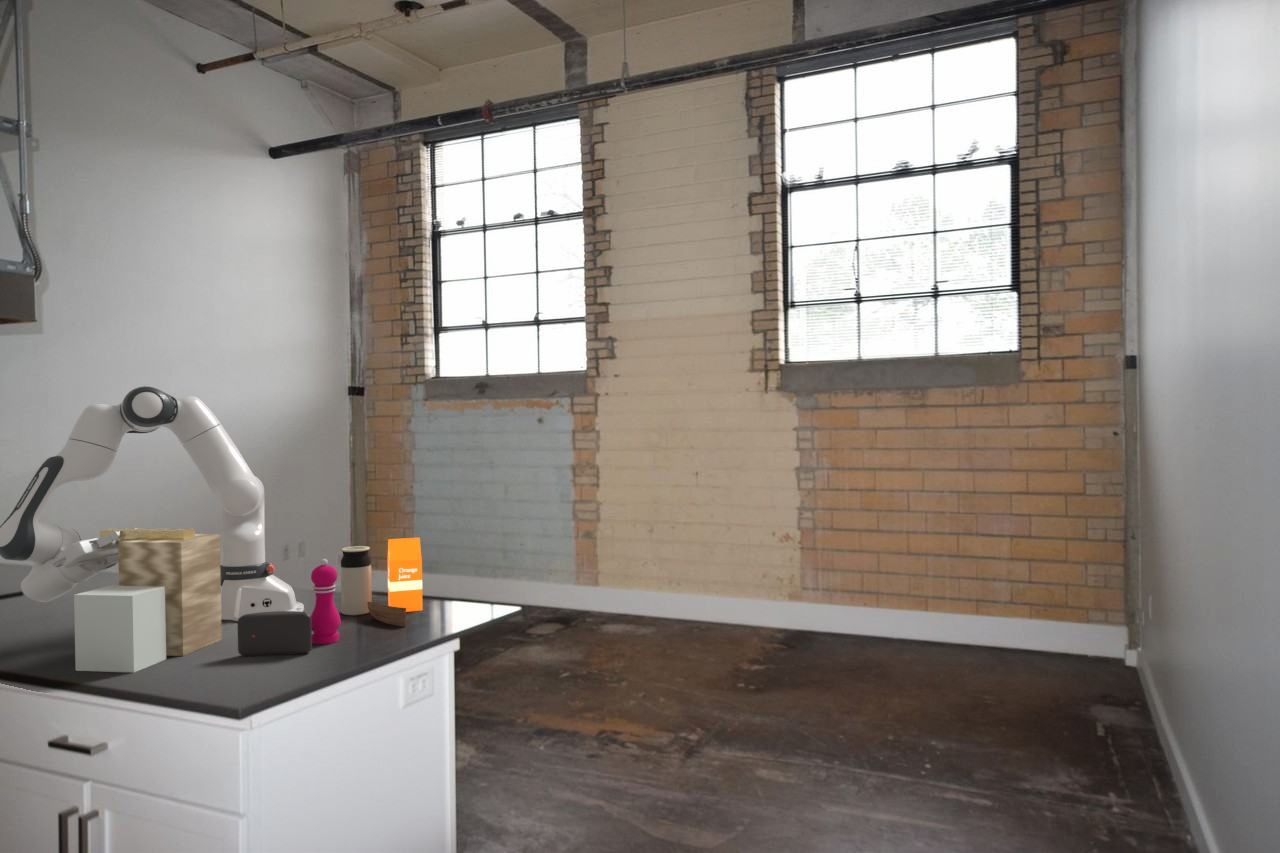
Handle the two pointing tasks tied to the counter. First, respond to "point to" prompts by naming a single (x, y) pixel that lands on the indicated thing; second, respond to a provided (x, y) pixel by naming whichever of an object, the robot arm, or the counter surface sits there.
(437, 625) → the counter surface
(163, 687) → the counter surface
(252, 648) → the red-dot charcoal block
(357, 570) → the travel mug
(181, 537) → the tan long flat block
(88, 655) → the pale grey block
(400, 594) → the orange juice
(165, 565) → the oak pedestal
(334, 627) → the pepper mill
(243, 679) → the counter surface
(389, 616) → the wood plank
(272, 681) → the counter surface
